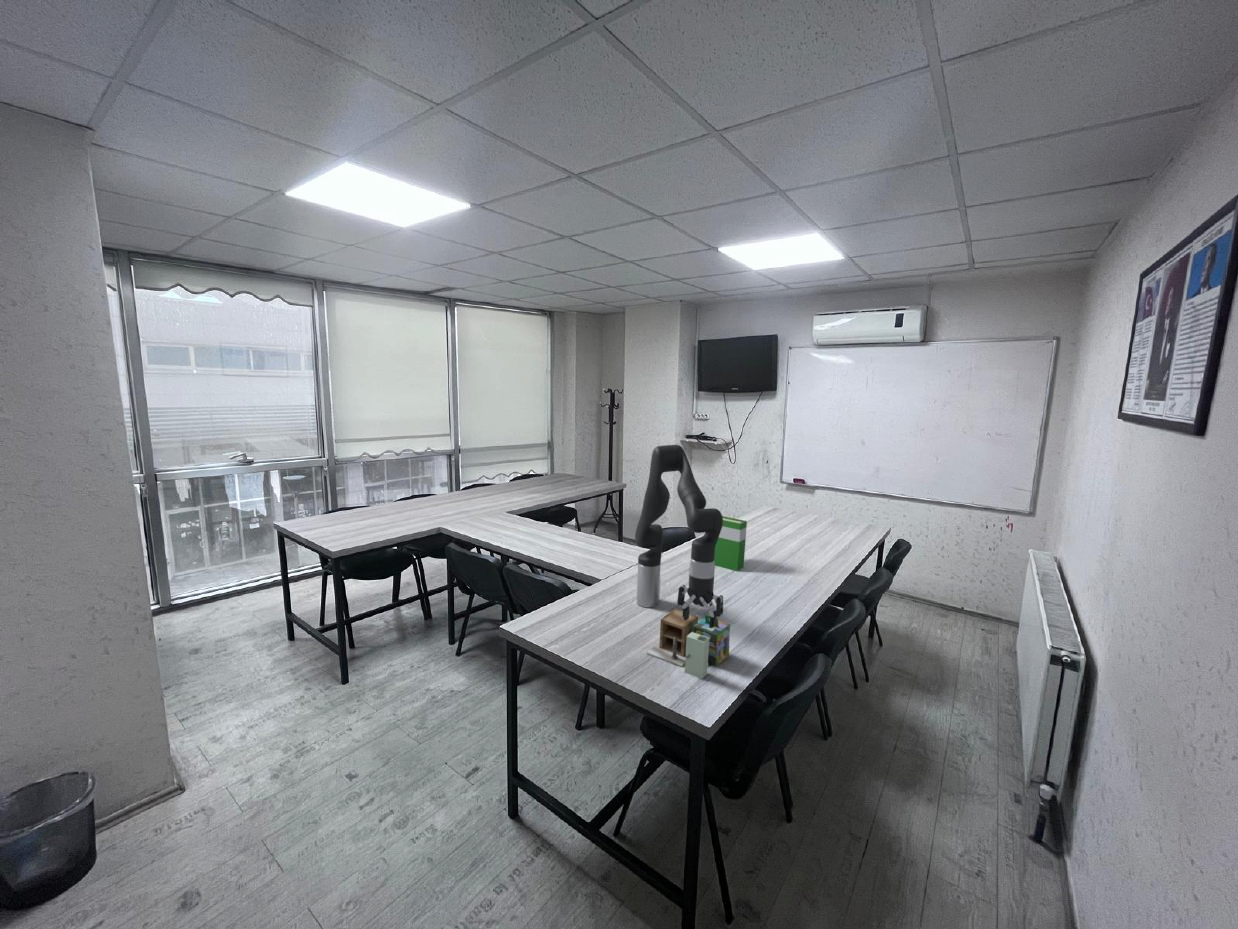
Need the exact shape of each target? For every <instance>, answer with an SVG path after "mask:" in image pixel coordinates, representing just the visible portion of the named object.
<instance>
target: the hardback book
mask: <svg viewBox="0 0 1238 929" xmlns="http://www.w3.org/2000/svg"><path fill="white" fill-rule="evenodd" d="M722 517H723V526H722V529H721V532H720V535H719V538H718V541H717V544H716V547H715V558H714V563H715V567H719V568H723V569H727V570H731V571H734V572H739V571H740V570H742V569H743V568H744V566H745V554H746V541H747V540H746V538H747V525H748V521H747V520H742V519H738V518H733V517H728V516H723V515H722Z"/></svg>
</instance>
